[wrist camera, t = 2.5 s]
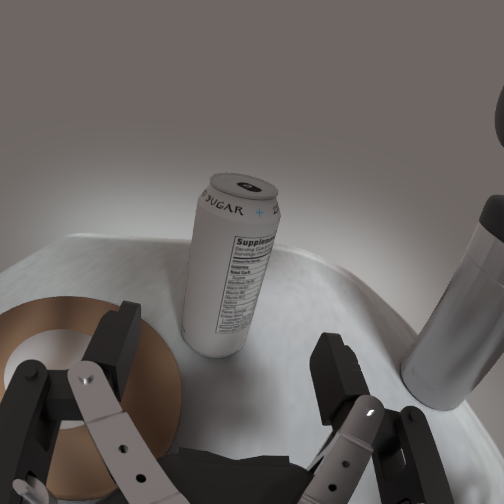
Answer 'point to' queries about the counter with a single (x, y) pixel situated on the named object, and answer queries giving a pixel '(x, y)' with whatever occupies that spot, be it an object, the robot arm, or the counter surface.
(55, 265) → the counter surface
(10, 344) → the disc
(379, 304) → the counter surface
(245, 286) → the energy drink can
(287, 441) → the counter surface
